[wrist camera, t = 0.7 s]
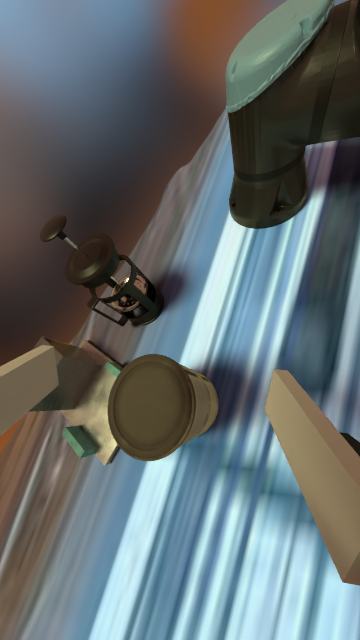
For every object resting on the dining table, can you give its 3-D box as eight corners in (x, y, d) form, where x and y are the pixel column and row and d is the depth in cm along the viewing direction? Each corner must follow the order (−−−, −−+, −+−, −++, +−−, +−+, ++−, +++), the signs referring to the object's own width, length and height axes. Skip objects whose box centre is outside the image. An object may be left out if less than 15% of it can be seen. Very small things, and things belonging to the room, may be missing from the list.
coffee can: (164, 441, 32) (105, 466, 19) (158, 377, 36) (107, 364, 24) (226, 433, 29) (203, 456, 17) (211, 365, 33) (185, 344, 21)
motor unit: (88, 340, 46) (42, 323, 36) (152, 388, 36) (113, 384, 26) (51, 395, 43) (-8, 394, 34) (109, 464, 33) (48, 490, 24)
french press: (144, 280, 46) (59, 189, 27) (173, 293, 42) (97, 196, 22) (116, 320, 45) (2, 256, 25) (143, 339, 40) (31, 279, 20)
